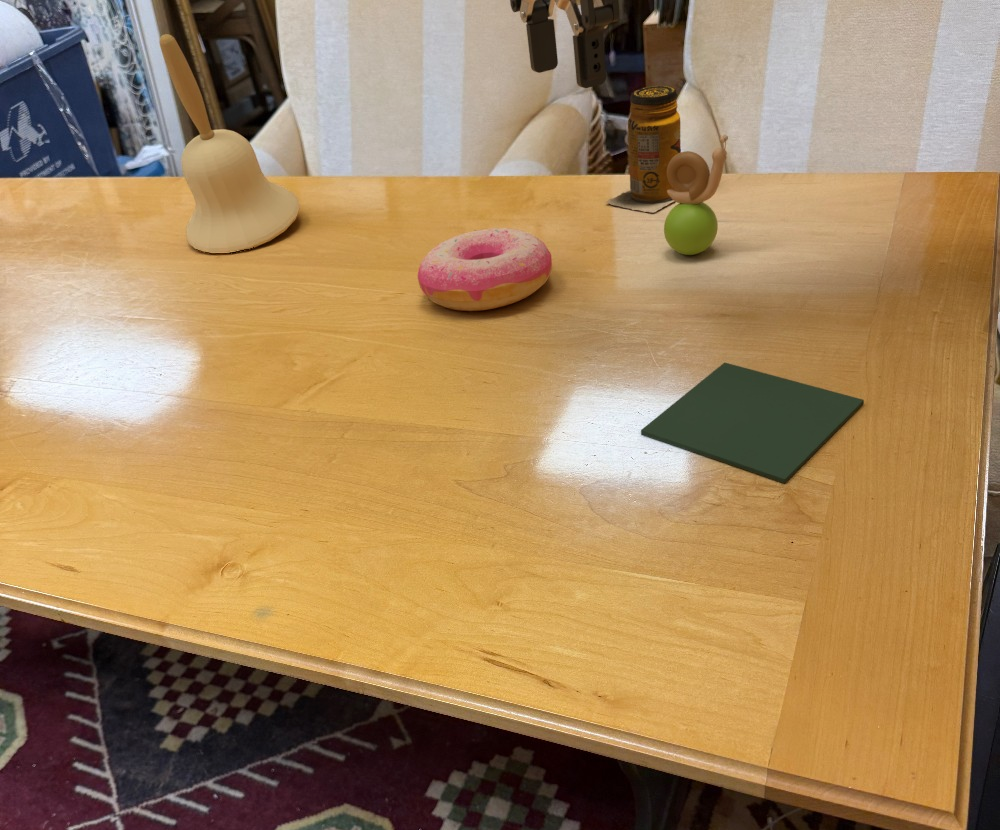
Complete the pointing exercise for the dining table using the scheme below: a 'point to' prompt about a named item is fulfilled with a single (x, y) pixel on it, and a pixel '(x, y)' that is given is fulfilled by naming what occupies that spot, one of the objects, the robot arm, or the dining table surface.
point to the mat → (753, 420)
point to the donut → (484, 269)
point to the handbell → (224, 177)
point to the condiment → (651, 148)
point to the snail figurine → (693, 200)
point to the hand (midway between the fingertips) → (567, 77)
